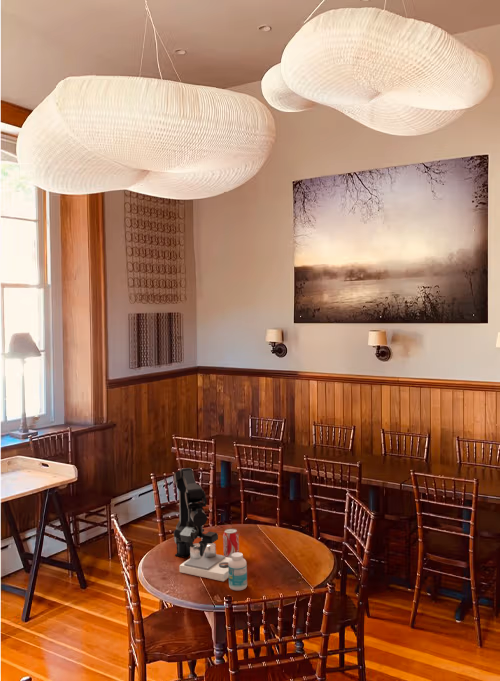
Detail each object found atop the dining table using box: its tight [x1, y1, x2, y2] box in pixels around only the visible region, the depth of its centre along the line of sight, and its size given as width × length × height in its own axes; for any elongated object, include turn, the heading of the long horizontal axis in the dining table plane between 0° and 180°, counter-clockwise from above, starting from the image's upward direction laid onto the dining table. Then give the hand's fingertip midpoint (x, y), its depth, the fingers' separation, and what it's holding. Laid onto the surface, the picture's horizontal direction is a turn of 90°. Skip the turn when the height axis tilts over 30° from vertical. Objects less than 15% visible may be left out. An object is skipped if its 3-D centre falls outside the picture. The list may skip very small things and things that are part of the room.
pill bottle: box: [228, 551, 248, 591], centre depth 247 cm, size 8×7×14 cm
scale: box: [179, 551, 232, 582], centre depth 265 cm, size 22×16×4 cm
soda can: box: [222, 528, 240, 558], centre depth 278 cm, size 7×7×12 cm
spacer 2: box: [204, 542, 217, 558], centre depth 270 cm, size 5×5×5 cm
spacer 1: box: [189, 542, 202, 560], centre depth 254 cm, size 5×5×5 cm
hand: (196, 554), depth 255 cm, fingers closed on spacer 1, 5 cm apart
